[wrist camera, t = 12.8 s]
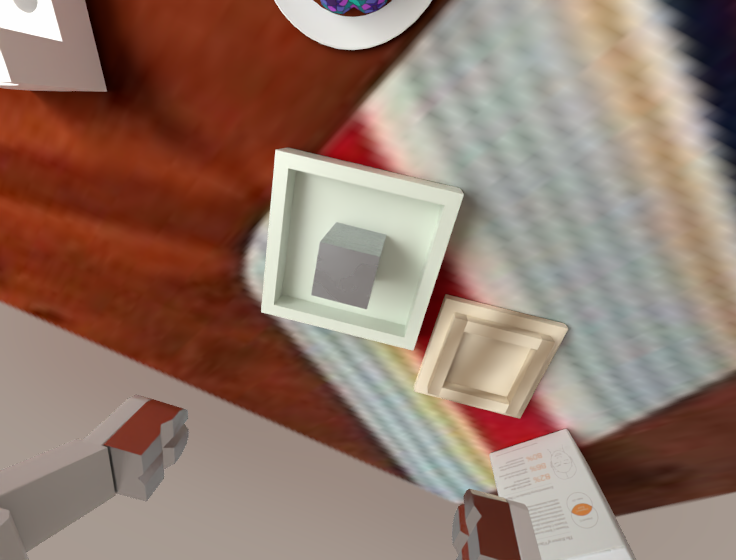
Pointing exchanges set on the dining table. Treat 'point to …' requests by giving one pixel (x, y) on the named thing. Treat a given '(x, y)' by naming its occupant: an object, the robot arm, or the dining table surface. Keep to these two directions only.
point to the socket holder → (487, 356)
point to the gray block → (347, 265)
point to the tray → (363, 210)
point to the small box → (560, 499)
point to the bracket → (48, 47)
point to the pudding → (352, 20)
